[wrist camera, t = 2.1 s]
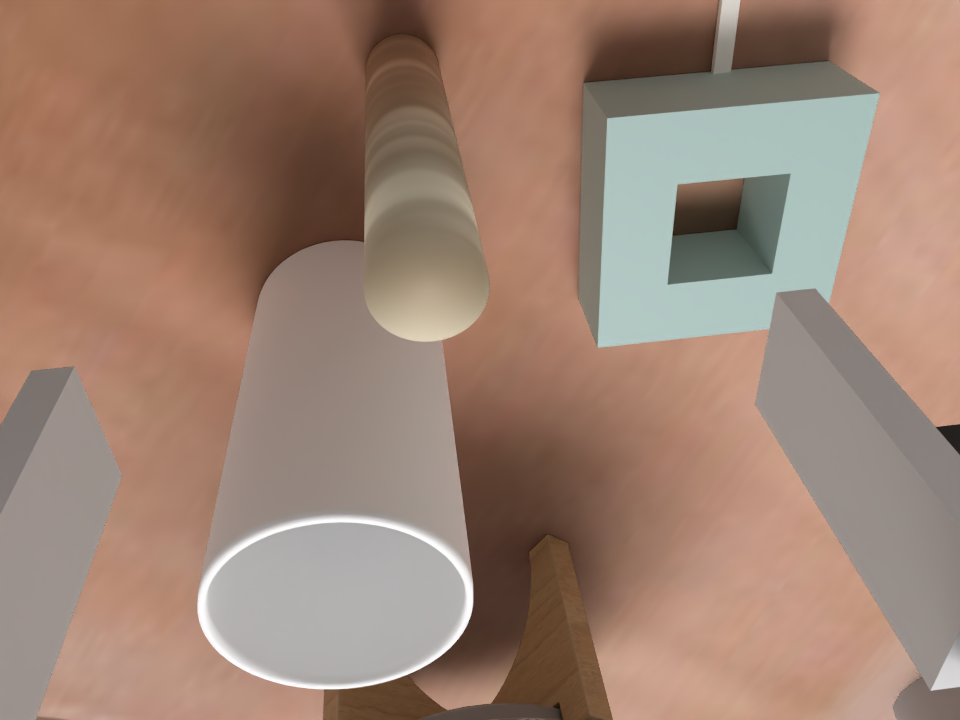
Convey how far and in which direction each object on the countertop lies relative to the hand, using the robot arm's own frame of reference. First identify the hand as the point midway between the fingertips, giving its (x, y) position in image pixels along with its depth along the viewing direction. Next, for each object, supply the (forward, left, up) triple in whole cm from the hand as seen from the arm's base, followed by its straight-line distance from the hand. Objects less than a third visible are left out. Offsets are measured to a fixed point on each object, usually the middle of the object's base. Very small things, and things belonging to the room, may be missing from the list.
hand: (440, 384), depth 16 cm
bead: (+6, +12, -19) cm, 23 cm away
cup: (+11, -4, -19) cm, 22 cm away
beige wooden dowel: (0, 0, -19) cm, 19 cm away
